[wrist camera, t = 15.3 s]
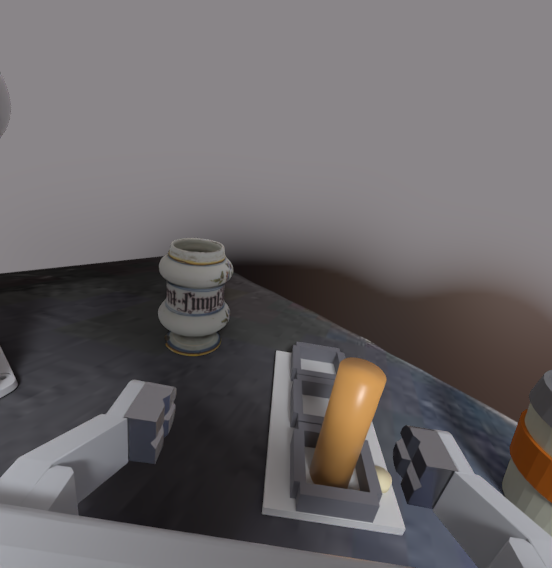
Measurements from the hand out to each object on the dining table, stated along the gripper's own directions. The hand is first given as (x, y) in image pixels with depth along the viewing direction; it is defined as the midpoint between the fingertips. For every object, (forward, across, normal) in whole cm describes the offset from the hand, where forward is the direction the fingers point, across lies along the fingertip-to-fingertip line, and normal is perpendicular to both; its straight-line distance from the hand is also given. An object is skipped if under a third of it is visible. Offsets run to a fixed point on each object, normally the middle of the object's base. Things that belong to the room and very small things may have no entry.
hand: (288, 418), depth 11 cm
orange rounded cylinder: (+15, -9, +23) cm, 29 cm away
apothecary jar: (+39, +13, +25) cm, 48 cm away
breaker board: (+24, -9, +24) cm, 35 cm away
